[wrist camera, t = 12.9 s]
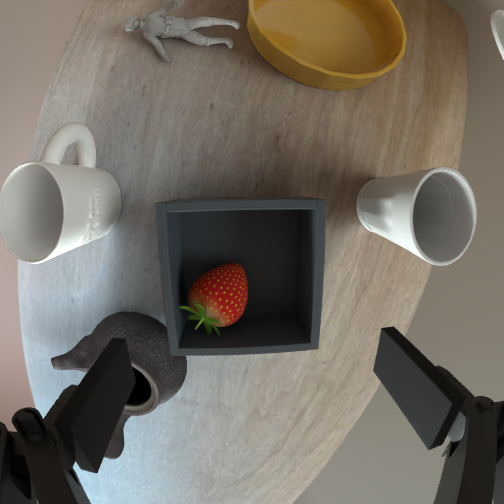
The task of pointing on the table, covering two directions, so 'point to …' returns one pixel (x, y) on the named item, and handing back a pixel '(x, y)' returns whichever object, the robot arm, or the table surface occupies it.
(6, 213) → the mug
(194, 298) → the fruit
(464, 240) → the cup
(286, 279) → the bin
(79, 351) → the teapot
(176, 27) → the soldier figure
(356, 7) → the bowl
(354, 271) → the table surface
